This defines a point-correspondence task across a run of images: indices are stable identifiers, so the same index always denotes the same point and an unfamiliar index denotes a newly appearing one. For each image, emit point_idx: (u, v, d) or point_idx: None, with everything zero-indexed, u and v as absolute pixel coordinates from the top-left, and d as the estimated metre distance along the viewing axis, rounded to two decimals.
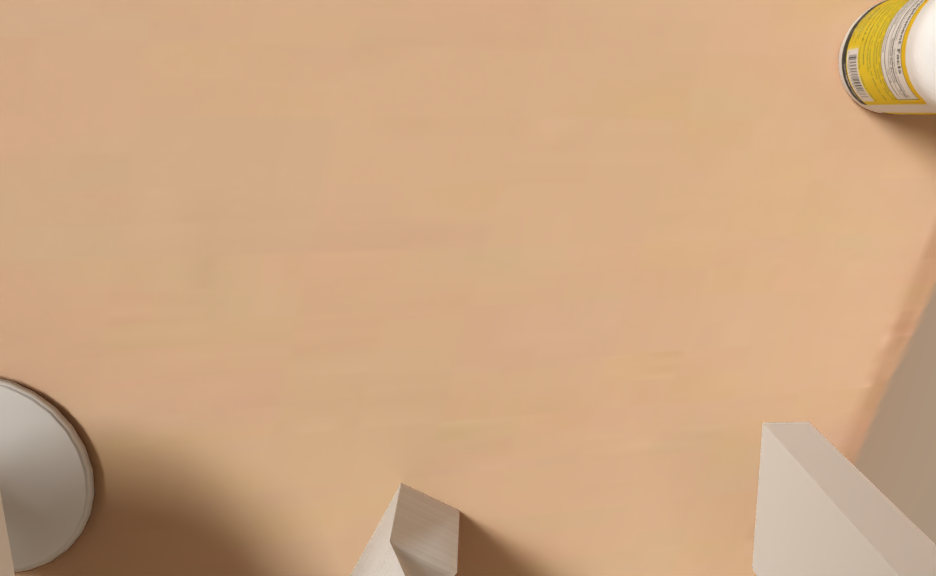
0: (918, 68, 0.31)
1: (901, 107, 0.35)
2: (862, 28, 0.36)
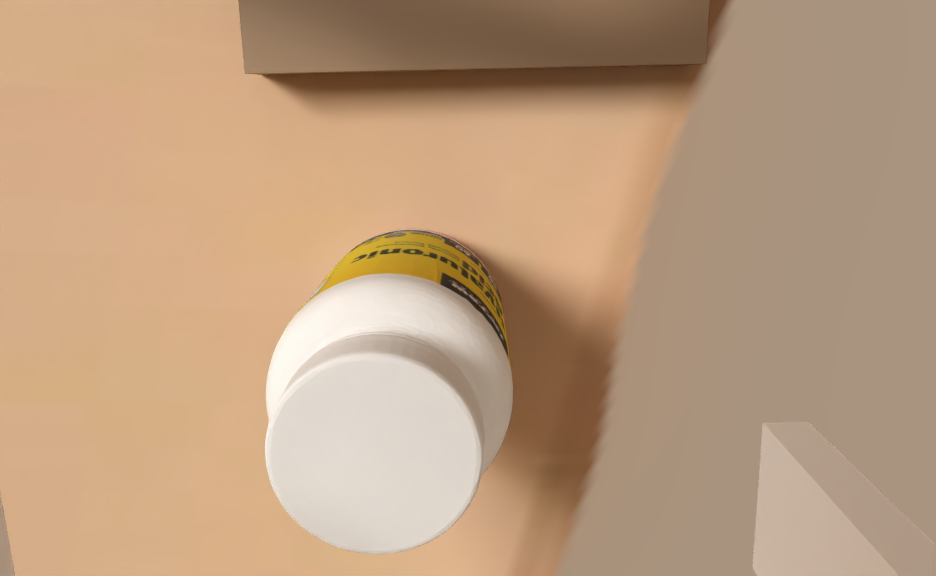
0: None
1: None
2: None
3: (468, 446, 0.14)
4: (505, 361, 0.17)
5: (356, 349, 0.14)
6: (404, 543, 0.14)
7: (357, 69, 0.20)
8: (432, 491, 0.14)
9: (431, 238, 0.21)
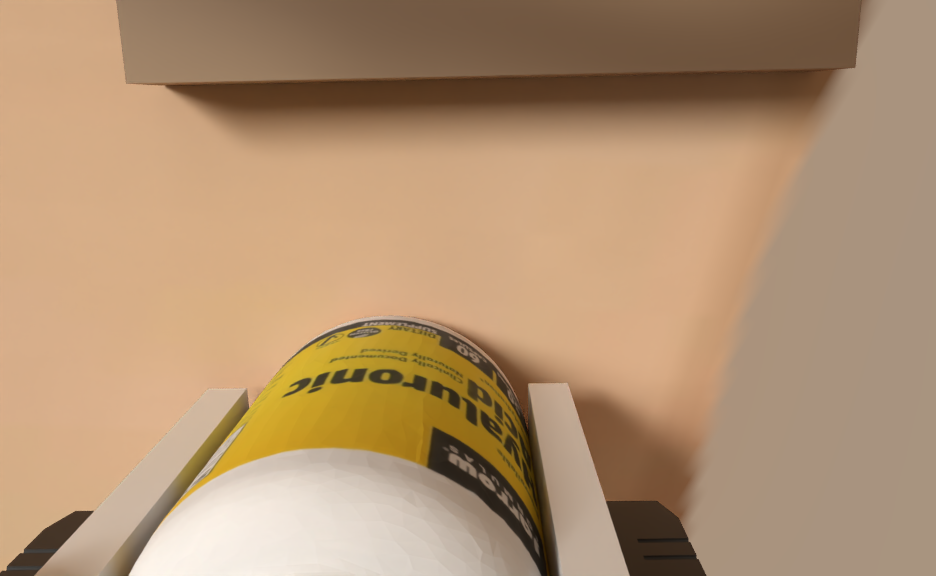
0: None
1: None
2: None
3: None
4: None
5: None
6: None
7: (302, 77, 0.13)
8: None
9: (419, 337, 0.14)
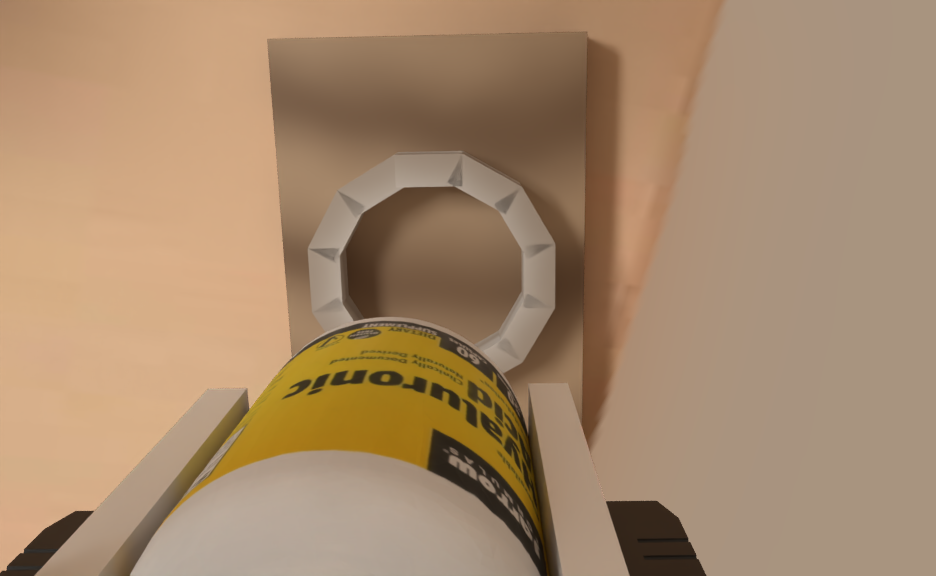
0: None
1: None
2: None
3: None
4: None
5: None
6: None
7: None
8: None
9: (420, 339, 0.14)
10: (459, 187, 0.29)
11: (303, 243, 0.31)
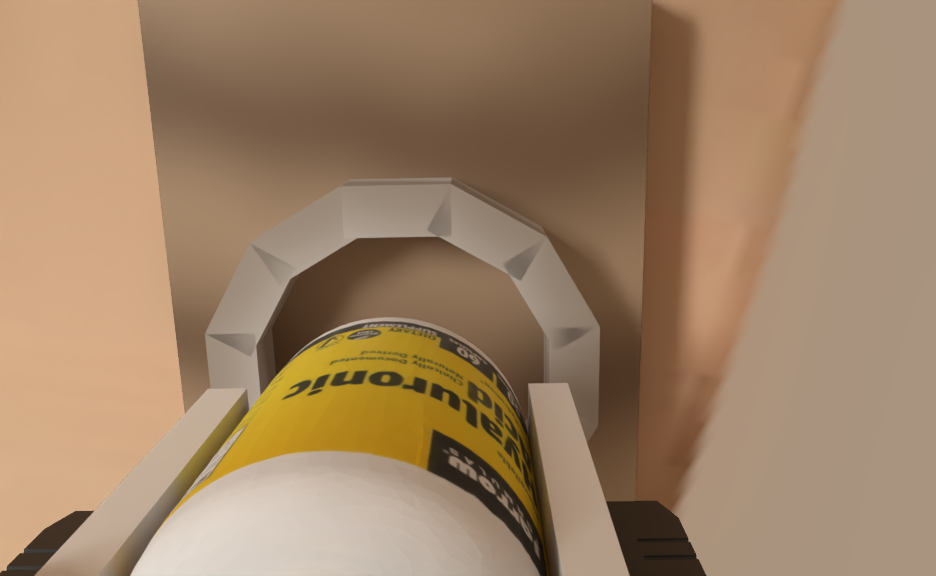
0: None
1: None
2: None
3: None
4: None
5: None
6: None
7: None
8: None
9: (420, 339, 0.14)
10: (446, 238, 0.18)
11: (205, 319, 0.20)
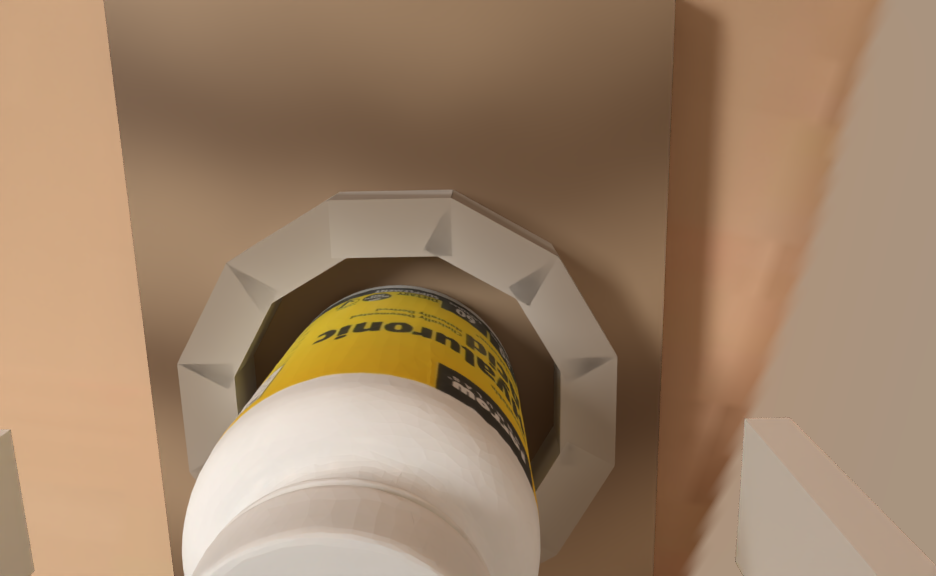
0: None
1: None
2: None
3: None
4: (530, 501, 0.11)
5: (301, 520, 0.09)
6: None
7: None
8: None
9: (424, 301, 0.16)
10: (446, 258, 0.16)
11: (180, 346, 0.18)
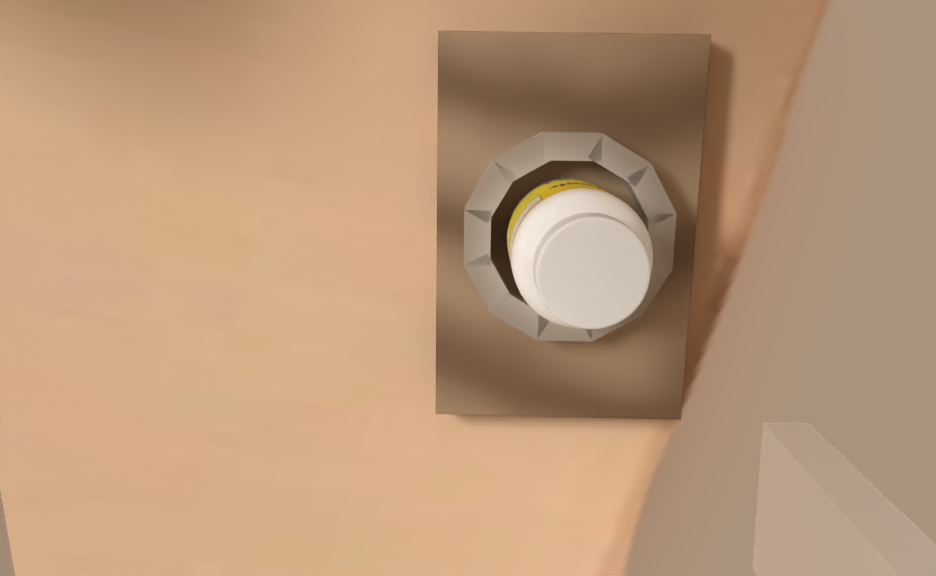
0: (516, 280, 0.30)
1: None
2: (515, 212, 0.34)
3: (643, 269, 0.27)
4: (650, 240, 0.29)
5: (588, 215, 0.27)
6: (605, 322, 0.27)
7: (495, 414, 0.38)
8: (622, 294, 0.27)
9: (587, 182, 0.34)
10: (598, 162, 0.34)
11: (454, 207, 0.36)
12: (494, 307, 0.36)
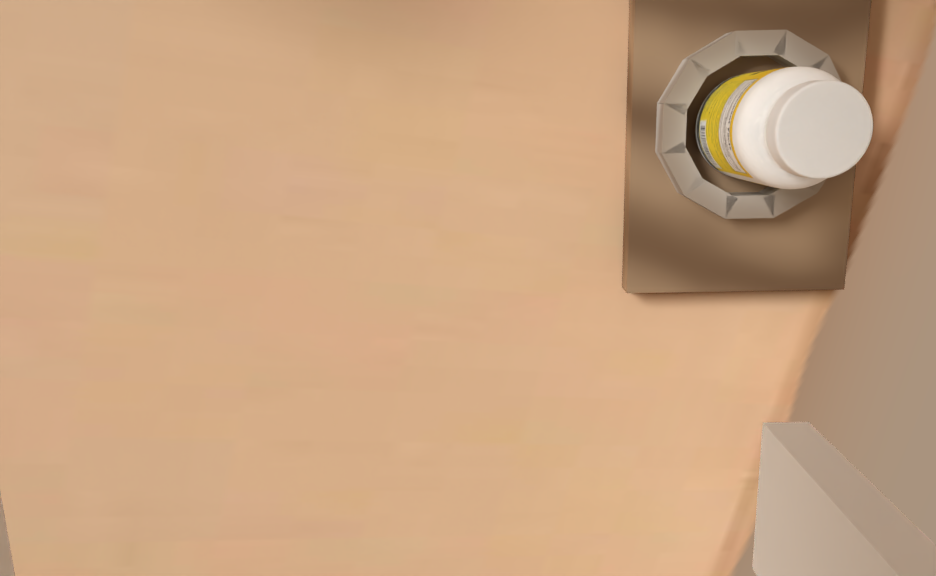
0: (740, 147, 0.35)
1: (741, 177, 0.38)
2: (710, 102, 0.39)
3: (867, 124, 0.32)
4: None
5: (820, 80, 0.32)
6: (833, 172, 0.32)
7: (680, 291, 0.43)
8: (848, 146, 0.32)
9: None
10: (782, 55, 0.39)
11: (647, 104, 0.41)
12: (688, 190, 0.41)
